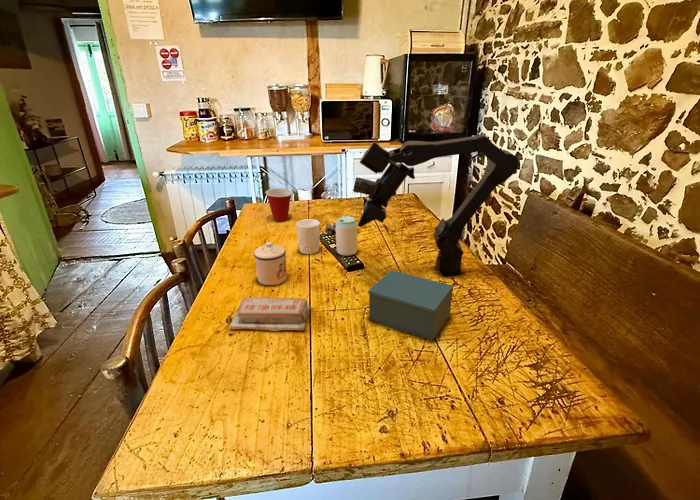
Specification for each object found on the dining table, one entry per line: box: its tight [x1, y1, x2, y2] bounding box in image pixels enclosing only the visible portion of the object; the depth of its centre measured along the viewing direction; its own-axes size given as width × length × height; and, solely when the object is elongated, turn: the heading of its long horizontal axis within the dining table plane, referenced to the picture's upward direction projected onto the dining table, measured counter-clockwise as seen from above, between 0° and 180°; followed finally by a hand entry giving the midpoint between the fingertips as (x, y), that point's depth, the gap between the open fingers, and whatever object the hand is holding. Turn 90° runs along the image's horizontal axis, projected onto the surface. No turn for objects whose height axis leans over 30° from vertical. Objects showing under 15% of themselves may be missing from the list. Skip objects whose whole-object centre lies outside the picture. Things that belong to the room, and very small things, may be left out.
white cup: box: [295, 218, 321, 255], centre depth 134 cm, size 8×8×10 cm
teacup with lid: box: [253, 241, 288, 286], centre depth 116 cm, size 12×9×12 cm
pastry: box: [324, 221, 336, 236], centre depth 150 cm, size 7×12×4 cm, turn 89°
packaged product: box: [229, 297, 311, 332], centre depth 97 cm, size 18×5×10 cm
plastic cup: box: [265, 188, 293, 222], centre depth 162 cm, size 11×11×12 cm
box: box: [368, 288, 454, 341], centre depth 97 cm, size 12×17×8 cm
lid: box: [367, 269, 454, 313], centre depth 94 cm, size 12×17×1 cm
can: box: [335, 215, 358, 257], centre depth 131 cm, size 7×7×12 cm
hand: (359, 225), depth 116 cm, fingers closed
